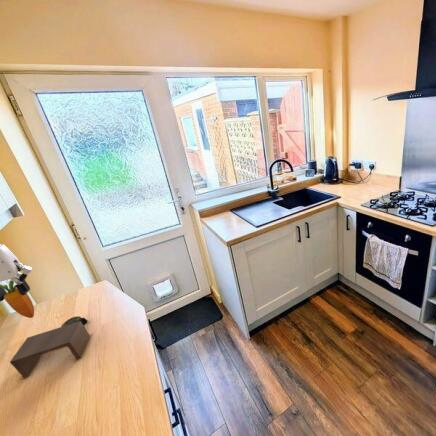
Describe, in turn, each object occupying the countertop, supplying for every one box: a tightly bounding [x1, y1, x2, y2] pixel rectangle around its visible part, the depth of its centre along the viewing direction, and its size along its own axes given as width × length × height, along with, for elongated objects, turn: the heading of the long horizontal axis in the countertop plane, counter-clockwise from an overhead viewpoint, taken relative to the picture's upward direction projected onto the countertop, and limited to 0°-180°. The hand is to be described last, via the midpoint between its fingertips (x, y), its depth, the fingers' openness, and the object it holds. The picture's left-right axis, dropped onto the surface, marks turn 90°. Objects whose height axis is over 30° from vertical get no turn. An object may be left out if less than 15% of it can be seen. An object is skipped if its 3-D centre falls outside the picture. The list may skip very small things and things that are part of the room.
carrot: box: [0, 279, 35, 319], centre depth 78 cm, size 5×5×15 cm
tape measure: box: [60, 316, 88, 327], centre depth 98 cm, size 7×7×4 cm
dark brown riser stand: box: [9, 321, 91, 379], centre depth 86 cm, size 16×10×8 cm, turn 111°
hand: (15, 294), depth 77 cm, fingers closed on carrot, 4 cm apart
